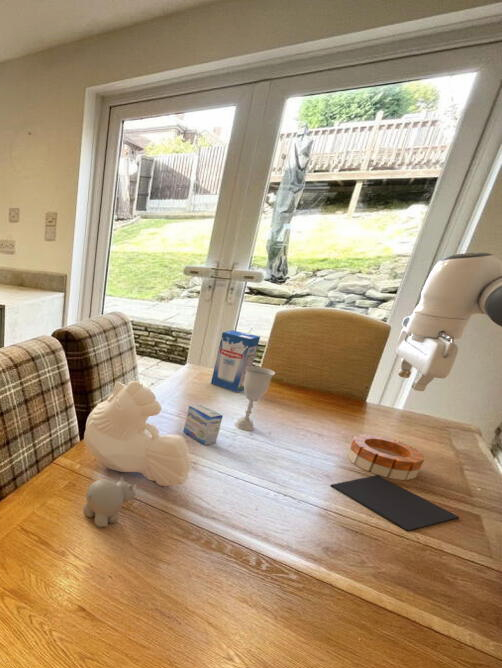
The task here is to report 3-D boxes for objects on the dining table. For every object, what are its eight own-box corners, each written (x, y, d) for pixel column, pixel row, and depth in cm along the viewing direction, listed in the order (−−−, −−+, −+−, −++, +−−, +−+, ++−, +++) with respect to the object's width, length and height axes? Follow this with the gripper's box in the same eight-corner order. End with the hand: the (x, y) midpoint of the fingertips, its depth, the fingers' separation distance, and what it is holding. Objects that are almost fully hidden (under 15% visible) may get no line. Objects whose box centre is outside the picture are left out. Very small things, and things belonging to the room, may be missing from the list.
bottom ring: (429, 475, 96) (433, 466, 95) (391, 483, 92) (395, 474, 92) (370, 448, 107) (373, 440, 106) (335, 454, 104) (338, 446, 103)
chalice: (264, 429, 116) (281, 373, 109) (247, 434, 114) (264, 376, 107) (241, 419, 122) (256, 364, 116) (225, 422, 120) (239, 367, 113)
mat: (458, 518, 82) (459, 516, 81) (407, 531, 78) (408, 530, 78) (377, 476, 95) (377, 474, 95) (330, 486, 91) (330, 484, 91)
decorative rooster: (67, 425, 104) (99, 379, 82) (116, 405, 109) (158, 357, 87) (119, 515, 94) (170, 490, 72) (170, 489, 98) (233, 458, 77)
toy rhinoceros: (145, 517, 81) (152, 483, 78) (98, 534, 77) (103, 498, 74) (121, 496, 88) (127, 464, 84) (77, 511, 83) (80, 477, 80)
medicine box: (182, 432, 115) (188, 405, 111) (194, 429, 116) (200, 403, 113) (204, 445, 108) (211, 417, 104) (216, 442, 109) (223, 414, 106)
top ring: (433, 466, 95) (437, 457, 94) (395, 474, 92) (399, 465, 91) (373, 440, 106) (377, 431, 105) (338, 446, 103) (341, 438, 102)
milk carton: (246, 389, 144) (260, 336, 137) (236, 392, 142) (250, 339, 134) (220, 380, 152) (232, 330, 145) (210, 383, 150) (222, 332, 142)
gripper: (477, 340, 80) (447, 401, 85) (435, 320, 96) (412, 372, 101) (435, 335, 83) (407, 395, 88) (401, 316, 99) (380, 368, 104)
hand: (409, 383), depth 95 cm, fingers open, 8 cm apart
